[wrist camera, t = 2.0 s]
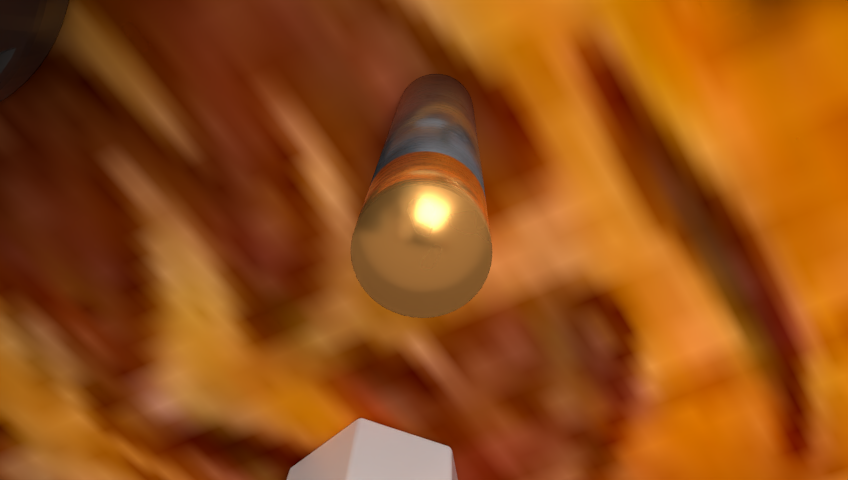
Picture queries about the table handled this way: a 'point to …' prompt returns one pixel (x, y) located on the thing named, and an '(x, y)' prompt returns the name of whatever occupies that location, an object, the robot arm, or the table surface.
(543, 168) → the table surface
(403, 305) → the copper and gray cylinder
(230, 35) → the table surface
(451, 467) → the jar
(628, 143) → the table surface
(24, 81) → the robot arm
